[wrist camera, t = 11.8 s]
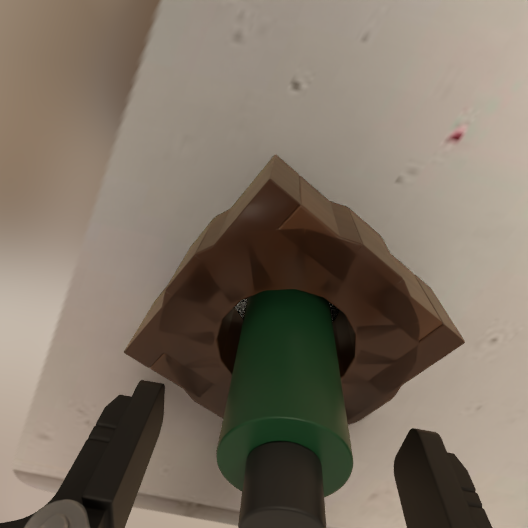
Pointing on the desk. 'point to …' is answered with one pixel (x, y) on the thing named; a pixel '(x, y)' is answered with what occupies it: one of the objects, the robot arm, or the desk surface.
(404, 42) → the desk surface
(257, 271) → the ashtray
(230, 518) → the desk surface
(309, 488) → the bottle
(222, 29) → the desk surface
